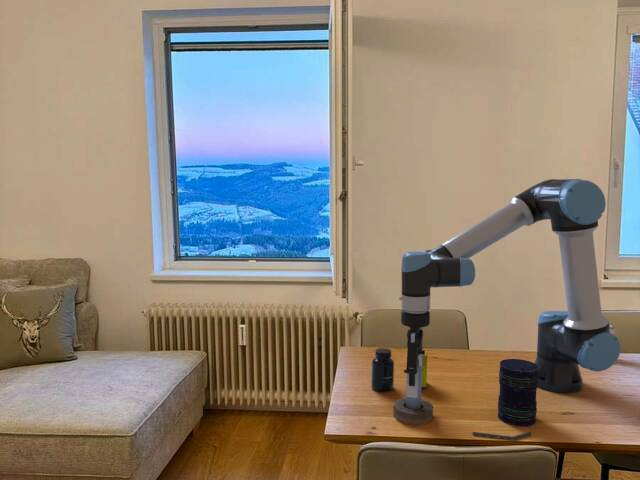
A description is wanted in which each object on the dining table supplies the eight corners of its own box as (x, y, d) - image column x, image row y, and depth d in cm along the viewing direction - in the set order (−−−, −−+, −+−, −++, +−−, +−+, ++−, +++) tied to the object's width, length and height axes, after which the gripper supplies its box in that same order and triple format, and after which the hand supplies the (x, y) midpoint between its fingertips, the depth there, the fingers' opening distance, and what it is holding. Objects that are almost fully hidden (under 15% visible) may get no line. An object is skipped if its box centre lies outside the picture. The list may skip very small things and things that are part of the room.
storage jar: (493, 409, 148) (495, 358, 146) (530, 411, 147) (532, 359, 145) (502, 426, 138) (504, 371, 136) (541, 428, 137) (544, 372, 135)
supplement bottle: (388, 394, 158) (388, 355, 157) (367, 389, 162) (368, 351, 161) (397, 386, 164) (397, 349, 163) (377, 382, 168) (377, 345, 166)
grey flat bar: (531, 434, 134) (531, 432, 134) (533, 442, 129) (533, 440, 129) (472, 427, 137) (472, 425, 137) (472, 435, 133) (472, 432, 133)
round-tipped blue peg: (421, 413, 145) (422, 357, 143) (419, 420, 141) (421, 362, 140) (406, 412, 146) (407, 356, 144) (404, 418, 142) (406, 361, 141)
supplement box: (426, 389, 162) (427, 355, 160) (406, 388, 163) (407, 354, 162) (426, 382, 167) (427, 349, 166) (407, 381, 169) (408, 347, 167)
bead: (433, 410, 147) (433, 400, 147) (431, 426, 138) (431, 415, 137) (396, 406, 150) (396, 395, 150) (391, 422, 140) (391, 411, 140)
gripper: (406, 298, 153) (405, 369, 156) (395, 321, 129) (394, 404, 132) (432, 300, 151) (431, 371, 154) (426, 323, 127) (425, 407, 130)
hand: (414, 386), depth 143 cm, fingers open, 13 cm apart
